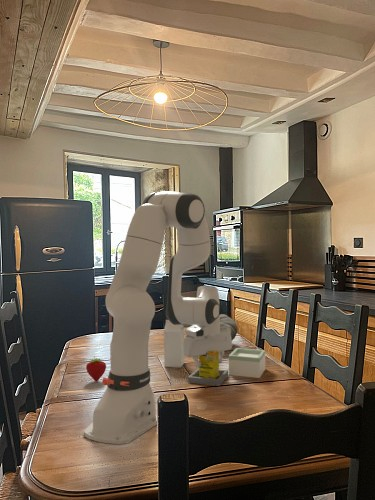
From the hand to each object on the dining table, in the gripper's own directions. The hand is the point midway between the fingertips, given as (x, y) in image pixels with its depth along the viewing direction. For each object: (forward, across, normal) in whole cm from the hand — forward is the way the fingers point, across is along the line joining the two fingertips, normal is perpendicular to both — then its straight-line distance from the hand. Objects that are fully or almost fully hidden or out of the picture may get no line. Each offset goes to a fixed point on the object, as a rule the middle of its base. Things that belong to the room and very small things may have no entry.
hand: (208, 364), depth 151 cm
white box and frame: (+5, -8, +1) cm, 10 cm away
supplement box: (+6, 0, 0) cm, 6 cm away
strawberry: (+5, +37, -21) cm, 43 cm away
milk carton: (+6, +2, -22) cm, 23 cm away
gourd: (+6, -28, -38) cm, 48 cm away
